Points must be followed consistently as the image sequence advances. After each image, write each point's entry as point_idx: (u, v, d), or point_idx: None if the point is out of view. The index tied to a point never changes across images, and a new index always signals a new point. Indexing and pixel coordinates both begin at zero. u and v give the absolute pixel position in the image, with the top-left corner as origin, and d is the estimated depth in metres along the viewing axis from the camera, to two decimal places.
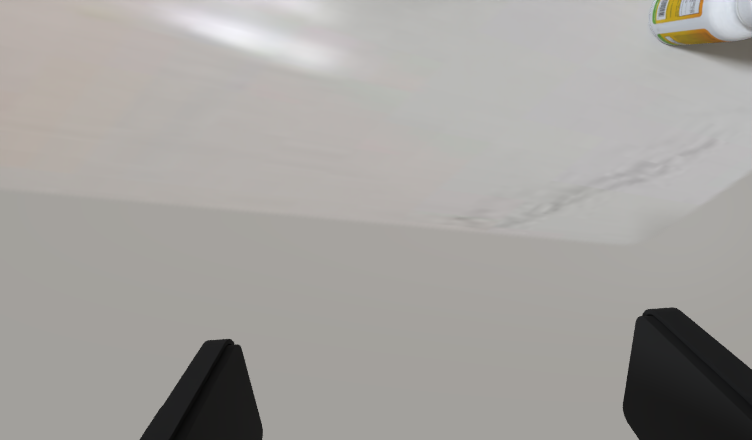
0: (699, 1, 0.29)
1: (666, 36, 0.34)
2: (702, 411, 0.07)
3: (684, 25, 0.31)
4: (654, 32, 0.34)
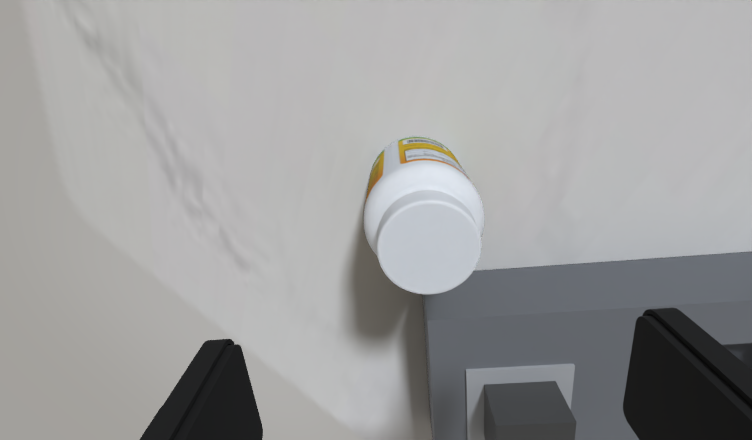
0: (423, 158, 0.18)
1: (379, 157, 0.22)
2: (702, 411, 0.07)
3: (391, 159, 0.19)
4: (387, 146, 0.23)
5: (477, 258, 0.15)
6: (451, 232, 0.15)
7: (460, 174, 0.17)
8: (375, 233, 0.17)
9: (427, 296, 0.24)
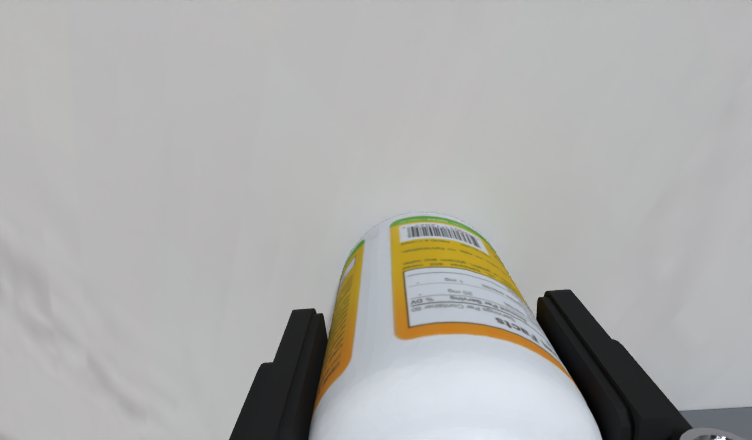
0: (451, 320, 0.07)
1: (354, 259, 0.12)
2: (573, 376, 0.08)
3: (374, 291, 0.09)
4: (370, 231, 0.12)
5: None
6: None
7: (552, 378, 0.06)
8: None
9: None
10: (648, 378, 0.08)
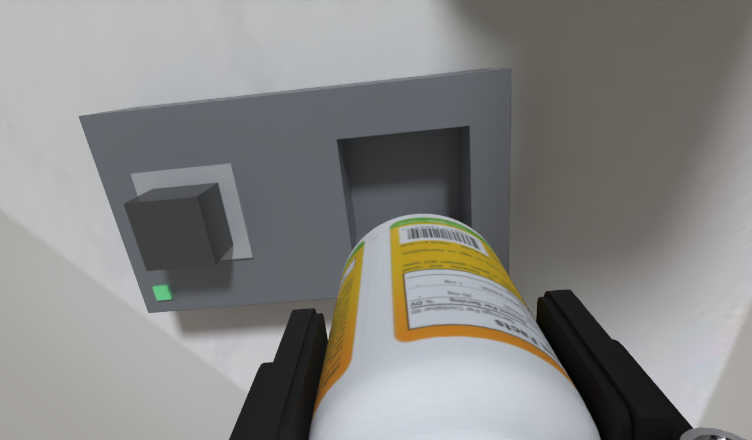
0: (450, 322, 0.07)
1: (354, 260, 0.12)
2: (573, 376, 0.08)
3: (374, 293, 0.09)
4: (370, 232, 0.12)
5: None
6: None
7: (551, 380, 0.06)
8: None
9: (109, 111, 0.25)
10: (648, 378, 0.08)
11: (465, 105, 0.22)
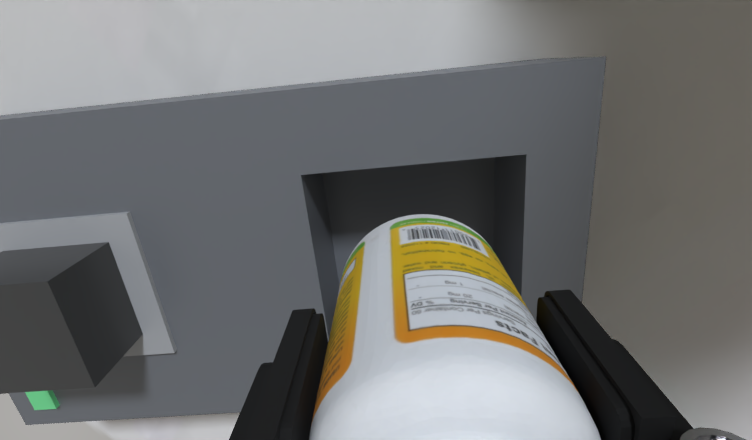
0: (451, 323, 0.07)
1: (354, 261, 0.12)
2: (573, 376, 0.08)
3: (374, 293, 0.09)
4: (370, 233, 0.12)
5: None
6: None
7: (552, 381, 0.06)
8: None
9: None
10: (648, 378, 0.08)
11: (521, 120, 0.13)
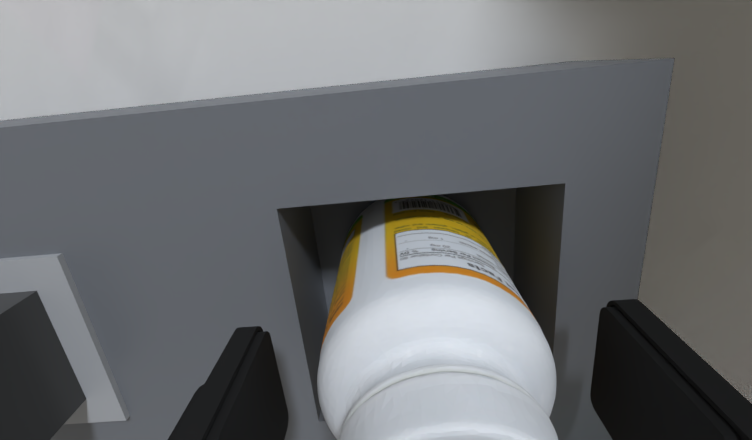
0: (431, 264, 0.09)
1: (354, 230, 0.13)
2: (653, 395, 0.07)
3: (370, 250, 0.11)
4: (367, 207, 0.14)
5: None
6: None
7: (509, 304, 0.08)
8: (339, 422, 0.09)
9: None
10: None
11: (560, 140, 0.10)
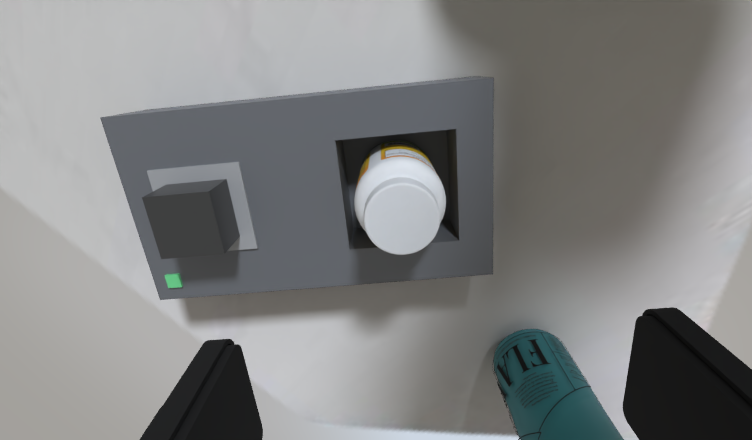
0: (398, 155, 0.23)
1: (366, 158, 0.28)
2: (702, 411, 0.07)
3: (374, 157, 0.25)
4: (372, 149, 0.29)
5: (437, 225, 0.21)
6: (417, 206, 0.20)
7: (425, 166, 0.23)
8: (363, 212, 0.23)
9: (126, 113, 0.27)
10: None
11: (452, 110, 0.24)
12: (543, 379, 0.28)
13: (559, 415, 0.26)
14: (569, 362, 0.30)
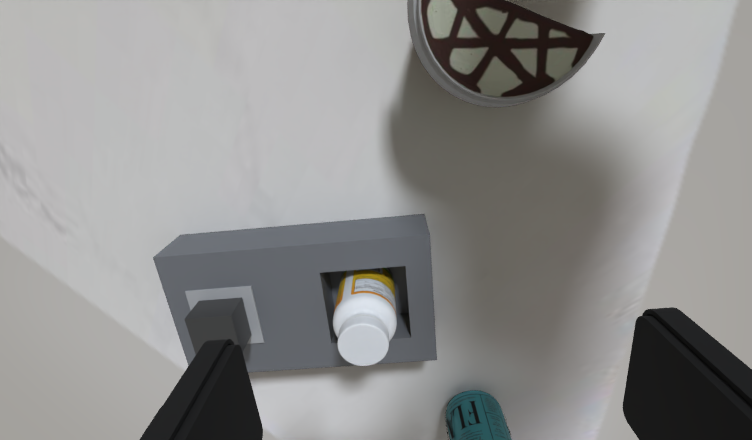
0: (362, 290, 0.33)
1: (343, 276, 0.38)
2: (702, 411, 0.07)
3: (348, 285, 0.35)
4: None
5: (387, 348, 0.31)
6: (372, 337, 0.30)
7: (381, 300, 0.33)
8: (338, 332, 0.33)
9: (168, 246, 0.37)
10: None
11: (402, 254, 0.34)
12: (474, 436, 0.39)
13: None
14: (497, 421, 0.40)
